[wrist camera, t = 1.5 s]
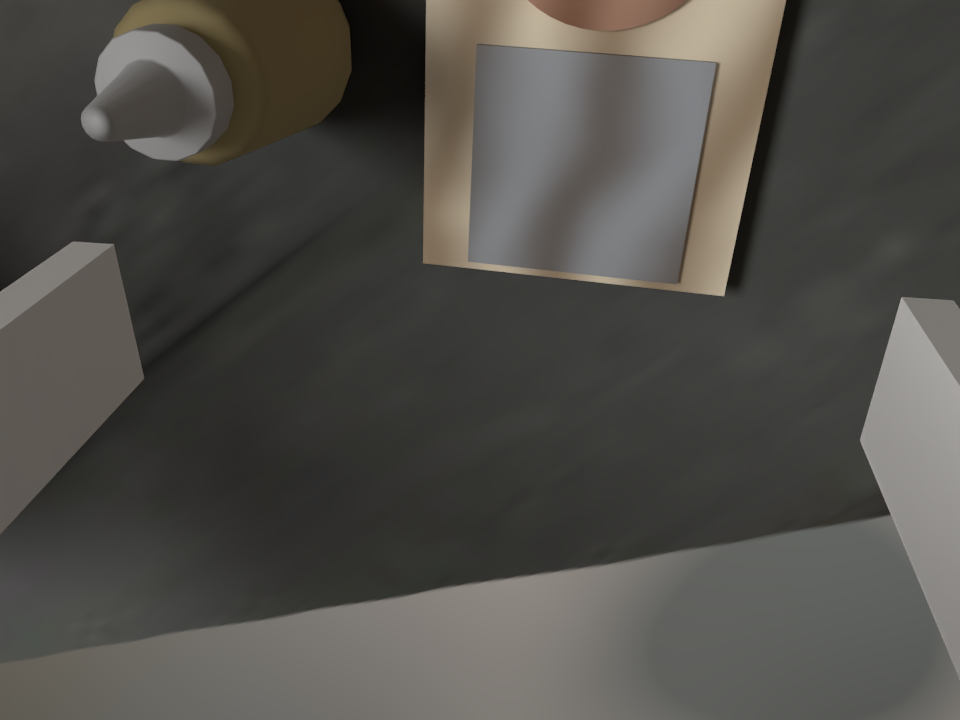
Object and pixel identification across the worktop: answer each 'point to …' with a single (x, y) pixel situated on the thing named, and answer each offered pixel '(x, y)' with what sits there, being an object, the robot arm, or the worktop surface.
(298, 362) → the worktop surface
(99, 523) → the worktop surface
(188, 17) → the squeeze bottle
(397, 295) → the worktop surface
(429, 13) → the board
